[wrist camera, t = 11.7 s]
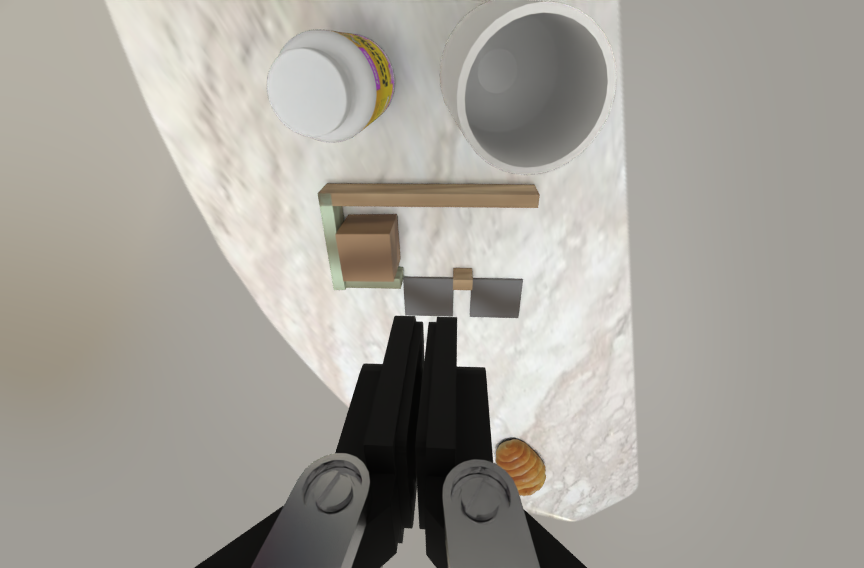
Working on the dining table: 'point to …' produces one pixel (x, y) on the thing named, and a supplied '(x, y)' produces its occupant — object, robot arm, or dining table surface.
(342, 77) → the supplement bottle
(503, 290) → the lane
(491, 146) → the champagne flute
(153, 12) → the dining table surface
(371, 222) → the block
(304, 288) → the dining table surface
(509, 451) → the pastry
